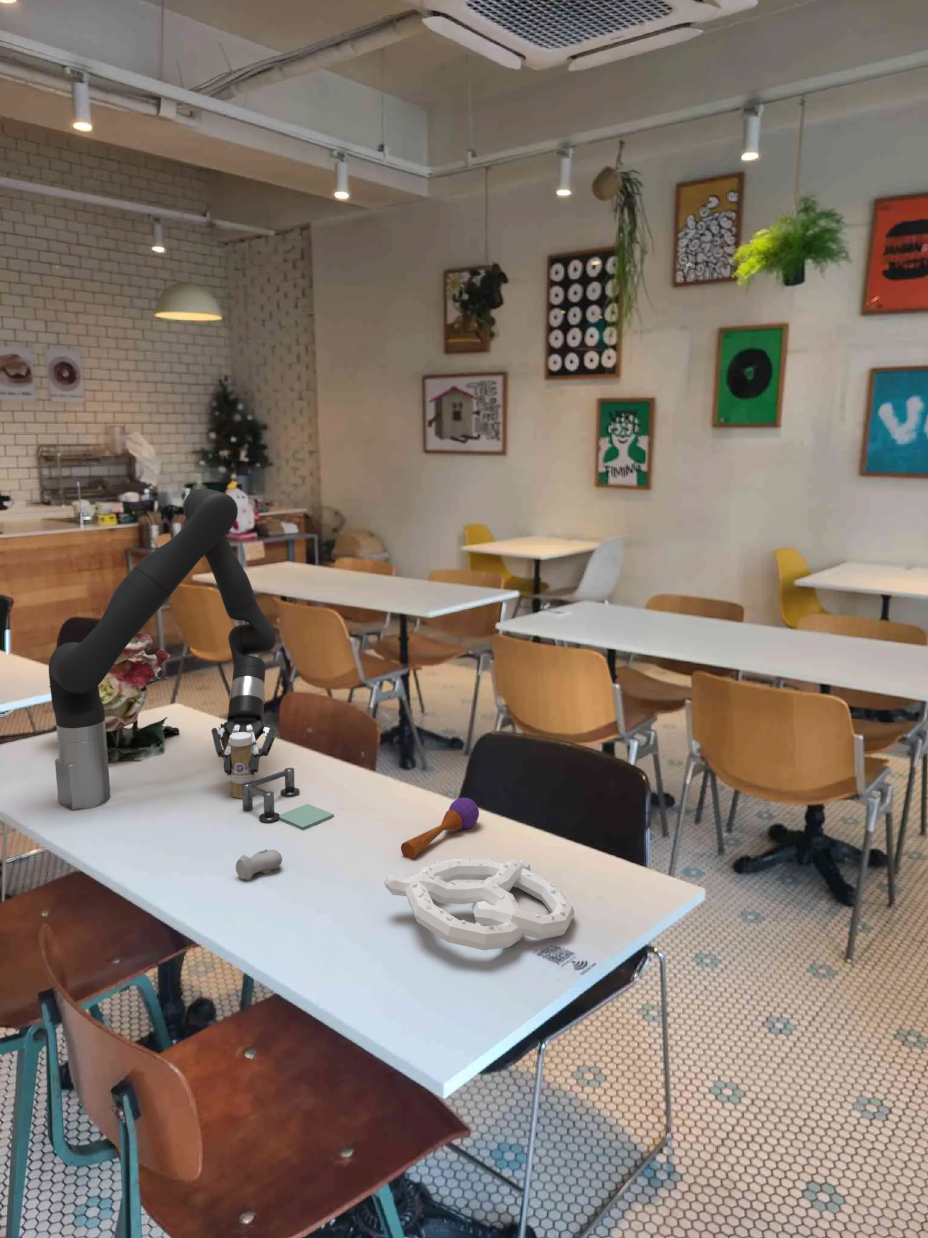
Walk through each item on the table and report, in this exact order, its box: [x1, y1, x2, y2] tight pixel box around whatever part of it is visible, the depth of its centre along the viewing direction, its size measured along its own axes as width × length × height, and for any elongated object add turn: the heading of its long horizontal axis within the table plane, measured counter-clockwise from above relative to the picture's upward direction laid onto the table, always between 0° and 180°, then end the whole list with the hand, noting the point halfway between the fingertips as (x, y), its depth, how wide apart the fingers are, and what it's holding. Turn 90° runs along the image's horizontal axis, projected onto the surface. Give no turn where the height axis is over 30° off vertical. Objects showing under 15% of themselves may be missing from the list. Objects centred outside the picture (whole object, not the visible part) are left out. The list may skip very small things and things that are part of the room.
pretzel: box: [383, 857, 575, 951], centre depth 139 cm, size 28×24×6 cm
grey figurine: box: [235, 849, 283, 881], centre depth 153 cm, size 4×8×5 cm
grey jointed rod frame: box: [241, 767, 301, 824], centre depth 181 cm, size 15×11×6 cm
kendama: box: [400, 797, 480, 860], centre depth 167 cm, size 6×6×20 cm
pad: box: [278, 803, 335, 831], centre depth 176 cm, size 8×8×1 cm
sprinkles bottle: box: [229, 732, 254, 799], centre depth 185 cm, size 5×5×14 cm
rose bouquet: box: [48, 632, 180, 765], centre depth 210 cm, size 26×29×30 cm
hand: (240, 773), depth 184 cm, fingers closed on sprinkles bottle, 4 cm apart
